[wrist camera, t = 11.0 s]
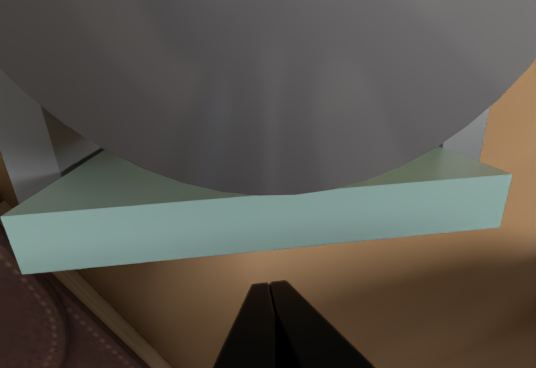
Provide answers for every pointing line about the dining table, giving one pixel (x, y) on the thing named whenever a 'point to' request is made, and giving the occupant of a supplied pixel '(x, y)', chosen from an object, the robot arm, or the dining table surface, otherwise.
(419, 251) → the dining table surface
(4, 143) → the lane
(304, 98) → the jar
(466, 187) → the bar
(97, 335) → the notebook
